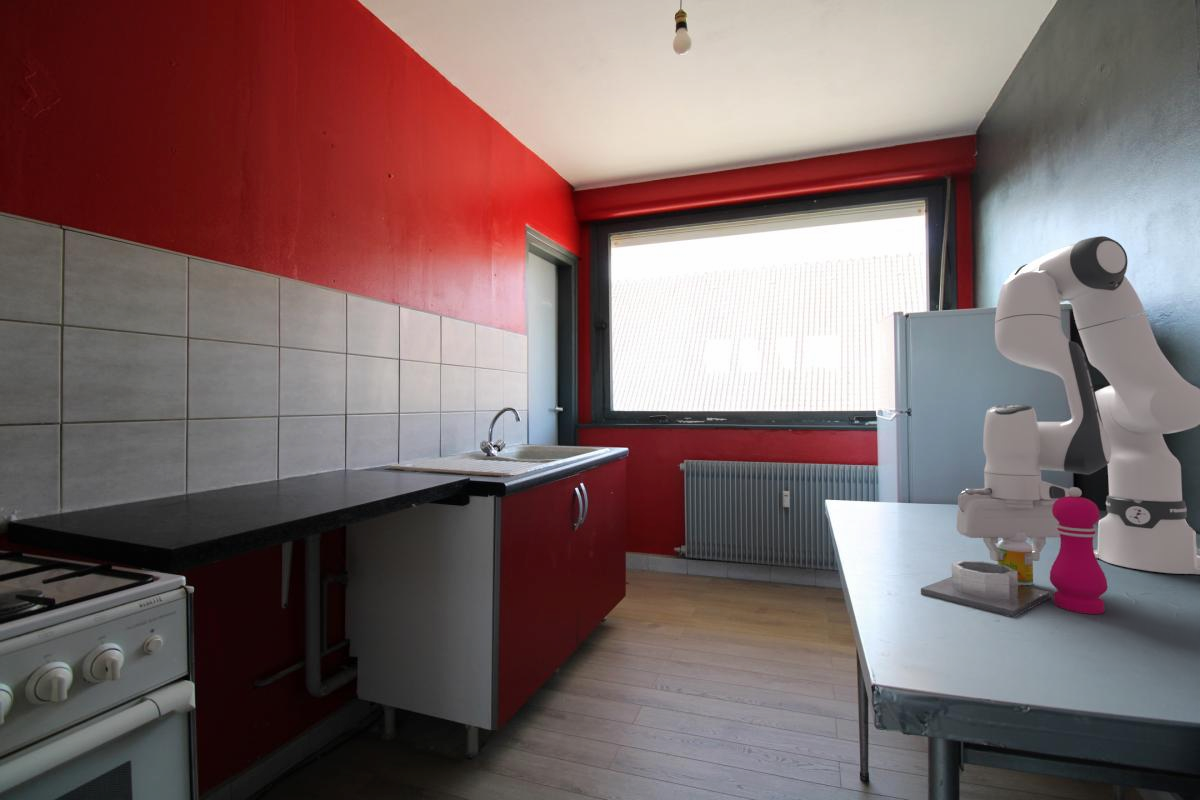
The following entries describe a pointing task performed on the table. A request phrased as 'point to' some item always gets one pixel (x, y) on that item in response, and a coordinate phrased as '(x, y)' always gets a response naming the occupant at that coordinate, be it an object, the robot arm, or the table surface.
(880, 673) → the table surface
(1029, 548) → the supplement bottle
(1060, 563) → the pepper mill
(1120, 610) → the table surface
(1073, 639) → the table surface
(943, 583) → the collar
